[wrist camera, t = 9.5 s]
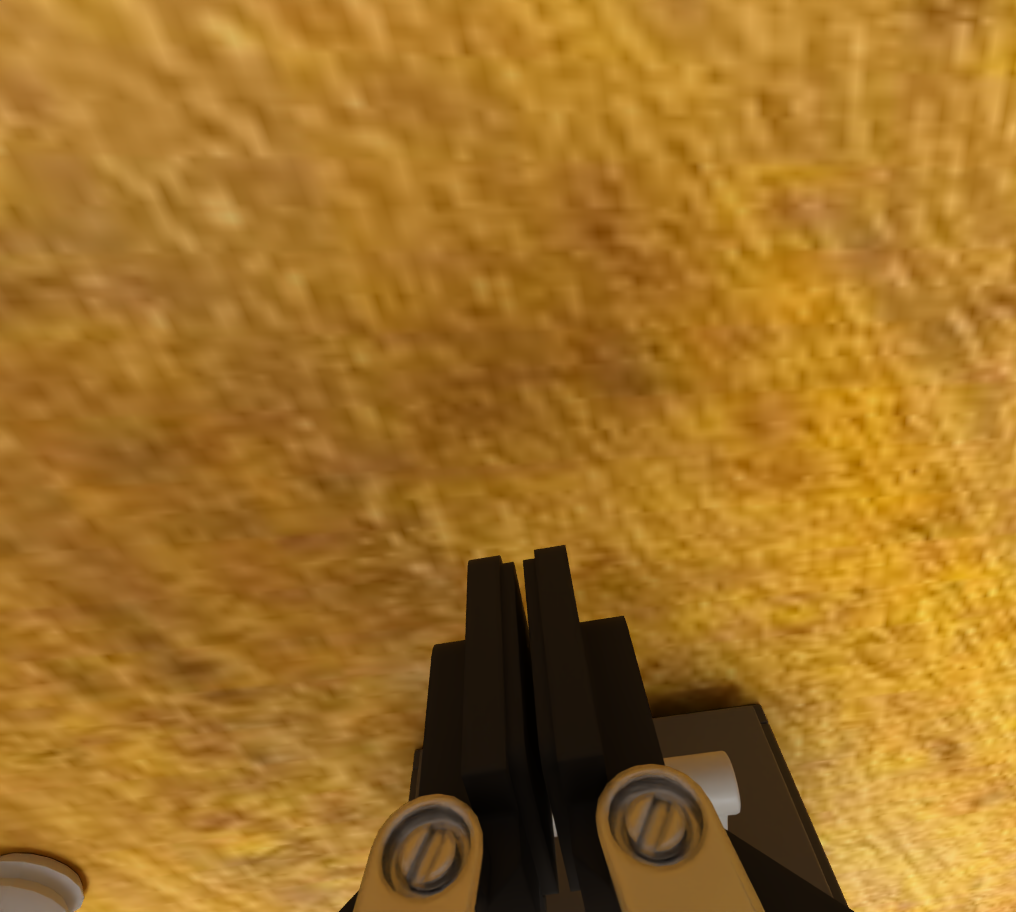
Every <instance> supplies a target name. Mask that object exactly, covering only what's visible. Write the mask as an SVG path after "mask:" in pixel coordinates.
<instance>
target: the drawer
mask: <svg viewBox="0 0 1016 912" xmlns="http://www.w3.org/2000/svg"><path fill="white" fill-rule="evenodd" d="M652 719H653V723H654V726H655V730H656V734H657V737H658V741H659V745H660V748H661V752H662V756H663V759H664V763H665V766H669V767H672V768H674V769H676V770H678V771H681V772H683V773H685V774H687V775H688V776H689V777H690V778H691V779H693V780H694V781H695V782H696V783H698V784H699V785H700V786H701V788H702V789H703V790H704V792H705V793H706V795H707V796H708V798H709V799H710V801H711V802H712V804H713V806H714V808H715V811H716V813H717V815H718V817H719V819H720V821H721V823H722V825H723V827H724V828H725V829H726V830H728V831H729V832H731V833H733V834H734V835H736V836H737V837H739V838H740V839H742V840H743V841H745V842H747V843H748V844H750V845H751V846H753V847H754V848H756V849H757V850H759V851H761V852H762V853H764V854H765V855H767V856H768V857H770V858H772V859H773V860H775V861H776V862H778V863H779V864H781V865H782V866H784V867H786V868H787V869H789V870H790V871H792V872H793V873H795V874H796V875H798V876H800V877H801V878H803V879H804V880H806V881H807V882H809V883H810V884H812V885H814V886H815V887H817V888H818V889H820V890H821V891H823V892H825V893H826V894H828V895H829V896H831V897H832V898H833V896H832V893H831V891H830V889H829V886H828V884H827V881H826V879H825V877H824V874H823V872H822V869H821V867H820V865H819V862H818V860H817V858H816V855H815V853H814V850H813V848H812V846H811V843H810V841H809V839H808V836H807V834H806V831H805V829H804V827H803V824H802V822H801V819H800V817H799V815H798V812H797V810H796V808H795V805H794V803H793V800H792V798H791V796H790V793H789V791H788V789H787V786H786V784H785V781H784V779H783V777H782V774H781V772H780V769H779V767H778V765H777V762H776V760H775V758H774V755H773V753H772V750H771V748H770V746H769V743H768V741H767V739H766V736H765V734H764V731H763V729H762V727H761V724H760V722H759V719H758V717H757V715H756V712H755V710H754V708H753V706H752V705H748V706H740V707H733V708H725V709H718V710H710V711H703V712H696V713H688V714H681V715H673V716H666V717H658V718H652ZM422 753H423V749H422V750H421V751H420V759H419V768H418V778H417V787H416V796H415V799H416V798H418V797H419V786H420V775H421V764H422ZM552 817H553V814H552ZM553 828H554V838H555V849H556V859H557V870H558V880H559V893H558V894H550V895H546V901H547V912H585V908H584V904H583V899H582V895H581V891H573V892H571V891H570V887H569V882H568V878H567V874H566V870H565V865H564V861H563V857H562V853H561V848H560V844H559V840H558V836H557V831H556V827H555V823H554V818H553Z"/></svg>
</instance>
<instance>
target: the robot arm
mask: <svg viewBox="0 0 1016 912" xmlns="http://www.w3.org/2000/svg"><path fill="white" fill-rule="evenodd" d="M534 555H535V558H534V559H528V560H523V567H524V579H525V590H526V602H527V614H528V625H527V621H526V616H525V611H524V607H523V602H522V597H521V593H520V588H519V583H518V579H517V574H516V569H515V565H514V562H509V563H502V559H501V556H500V555H499V556H493V557H486V558H480V559H474V560H469V561H468V574H467V604H466V634H465V640H462V641H456V642H449V643H443V644H436V645H434V647H433V650H432V656H431V667H430V677H429V688H428V699H427V710H426V721H425V732H424V742H423V753H422V764H421V775H420V786H419V797H418V798H416V799H414V800H412V801H409V802H407V803H405V804H404V805H403V806H401V807H400V808H399V809H398V810H396V811H395V812H394V813H392V814H391V815H390V816H389V818H388V819H387V820H386V822H385V823H384V824H383V826H382V827H381V828H380V829H379V831H378V833H377V836H376V838H375V840H374V843H373V845H372V847H371V851H370V854H369V857H368V861H367V864H366V868H365V871H364V875H363V878H362V882H361V885H360V889H359V891H358V892H357V893H356V894H355V895H354V896H353V897H352V898H351V899H350V900H349V901H348V902H347V903H346V904H345V906H344V907H343V908H342V909H341V910H340V911H339V912H547V901H546V895H550V894H558V893H559V880H558V870H557V859H556V849H555V838H554V828H553V818H554V823H555V827H556V831H557V836H558V840H559V844H560V848H561V853H562V857H563V861H564V865H565V870H566V874H567V878H568V882H569V887H570V891H571V892H573V891H581V895H582V899H583V904H584V908H585V912H854V911H853V910H851V909H849V908H848V907H846V906H845V905H843V904H842V903H840V902H839V901H837V900H835V899H834V898H832V897H831V896H829V895H828V894H826V893H825V892H823V891H821V890H820V889H818V888H817V887H815V886H814V885H812V884H810V883H809V882H807V881H806V880H804V879H803V878H801V877H800V876H798V875H796V874H795V873H793V872H792V871H790V870H789V869H787V868H786V867H784V866H782V865H781V864H779V863H778V862H776V861H775V860H773V859H772V858H770V857H768V856H767V855H765V854H764V853H762V852H761V851H759V850H757V849H756V848H754V847H753V846H751V845H750V844H748V843H747V842H745V841H743V840H742V839H740V838H739V837H737V836H736V835H734V834H733V833H731V832H729V831H728V830H726V829H725V828H724V827H723V825H722V823H721V821H720V819H719V817H718V815H717V813H716V811H715V808H714V806H713V804H712V802H711V801H710V799H709V798H708V796H707V795H706V793H705V792H704V790H703V789H702V788H701V786H700V785H699V784H698V783H696V782H695V781H694V780H693V779H691V778H690V777H689V776H688V775H687V774H685V773H683V772H681V771H678V770H676V769H674V768H672V767H669V766H665V763H664V759H663V756H662V752H661V748H660V745H659V741H658V737H657V734H656V730H655V726H654V723H653V719H652V715H651V711H650V708H649V704H648V700H647V697H646V693H645V689H644V686H643V682H642V678H641V675H640V671H639V667H638V664H637V660H636V656H635V652H634V649H633V645H632V641H631V638H630V634H629V630H628V627H627V623H626V620H625V618H624V616H619V617H612V618H606V619H599V620H592V621H586V622H579V618H578V612H577V607H576V601H575V596H574V590H573V585H572V579H571V574H570V568H569V563H568V557H567V552H566V546H565V545H561V546H555V547H549V548H543V549H536V550H534ZM528 626H529V630H528ZM552 814H553V817H552Z"/></svg>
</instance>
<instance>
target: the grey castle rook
mask: <svg viewBox="0 0 1016 912" xmlns="http://www.w3.org/2000/svg"><path fill="white" fill-rule="evenodd" d="M83 899H84V894H83V887H82V883H81V881H80V878H79V876H78V874H76V873H75V872H74V871H73V870H72V869H71V868H69V867H68V866H67V865H65V864H62V863H60V862H58V861H56V860H54V859H52V858H48V857H43V856H39V855H35V854H21V853H12V854H7V855H3V856H0V912H74V911H76V910H77V909H79V908H80V907H81V905H82V902H83Z"/></svg>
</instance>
